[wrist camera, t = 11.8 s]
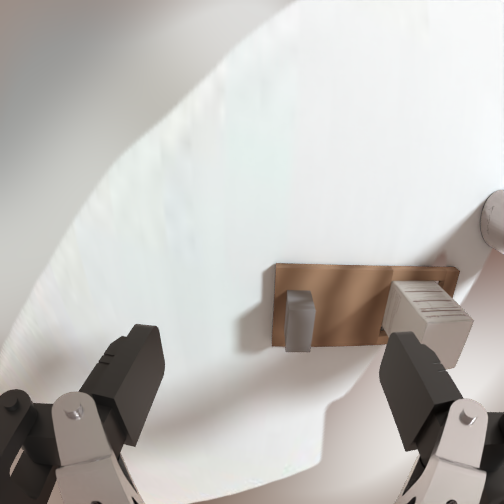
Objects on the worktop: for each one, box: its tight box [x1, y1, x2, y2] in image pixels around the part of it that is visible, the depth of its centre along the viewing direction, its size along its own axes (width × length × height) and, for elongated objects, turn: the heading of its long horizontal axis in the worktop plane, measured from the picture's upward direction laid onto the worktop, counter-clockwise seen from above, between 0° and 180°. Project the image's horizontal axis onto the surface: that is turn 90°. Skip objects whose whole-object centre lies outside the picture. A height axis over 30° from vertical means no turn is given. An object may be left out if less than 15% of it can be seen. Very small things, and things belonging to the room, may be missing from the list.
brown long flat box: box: [272, 263, 460, 352], centre depth 37 cm, size 27×12×6 cm, turn 89°
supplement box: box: [382, 281, 474, 369], centre depth 34 cm, size 7×7×13 cm
